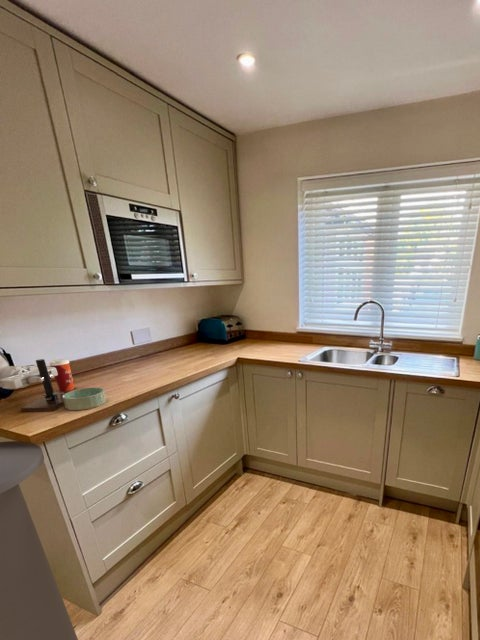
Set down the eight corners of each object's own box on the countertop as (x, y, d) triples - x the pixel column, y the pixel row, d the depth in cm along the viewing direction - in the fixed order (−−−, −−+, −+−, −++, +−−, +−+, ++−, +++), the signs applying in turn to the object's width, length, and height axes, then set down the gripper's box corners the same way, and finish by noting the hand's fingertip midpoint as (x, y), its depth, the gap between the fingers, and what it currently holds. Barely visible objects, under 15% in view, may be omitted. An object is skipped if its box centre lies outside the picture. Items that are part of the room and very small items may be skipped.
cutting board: (52, 411, 130) (51, 407, 129) (21, 411, 129) (20, 408, 129) (83, 394, 148) (83, 391, 148) (56, 394, 148) (55, 391, 148)
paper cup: (76, 390, 153) (68, 361, 148) (56, 393, 150) (47, 363, 145) (77, 386, 160) (69, 357, 155) (58, 388, 156) (49, 359, 151)
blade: (61, 401, 135) (49, 361, 129) (35, 405, 132) (21, 363, 126) (67, 395, 143) (56, 356, 137) (42, 397, 140) (30, 358, 134)
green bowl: (93, 410, 130) (90, 398, 128) (57, 411, 130) (53, 399, 128) (113, 397, 143) (110, 387, 142) (80, 398, 143) (77, 387, 141)
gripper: (-12, 376, 125) (20, 378, 123) (37, 363, 144) (65, 364, 142) (-6, 392, 128) (25, 393, 126) (42, 377, 146) (69, 378, 145)
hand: (47, 378), depth 134 cm, fingers closed on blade, 3 cm apart
